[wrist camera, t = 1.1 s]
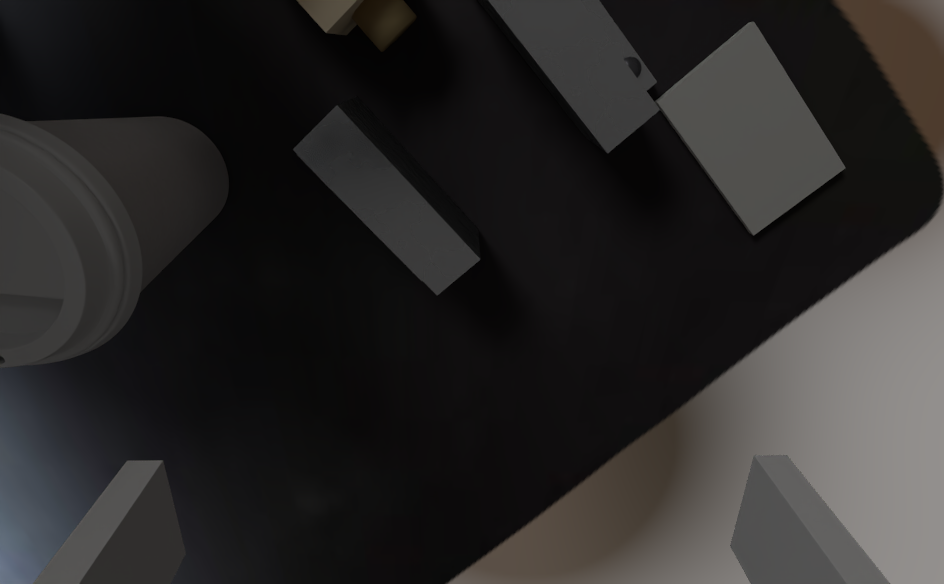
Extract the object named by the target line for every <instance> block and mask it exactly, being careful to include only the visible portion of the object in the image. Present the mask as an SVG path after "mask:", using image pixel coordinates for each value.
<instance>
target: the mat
mask: <svg viewBox="0 0 944 584" xmlns="http://www.w3.org/2000/svg"><path fill="white" fill-rule="evenodd" d="M655 104H656V105H657V106H658V108H659V109H660V110H661V112H662V113H663V115H664V116H665V117H666V119H667V120H668V122H669V123H670V124H671V126H672V127H673V128H674V130H675V131H676V133H677V134H678V135H679V137H680V138H681V139H682V141H683V142H684V144H685V145H686V146H687V148H688V149H689V151H690V152H691V153H692V155H693V156H694V157H695V159H696V160H697V162H698V163H699V164H700V166H701V167H702V168H703V170H704V171H705V173H706V174H707V175H708V177H709V178H710V180H711V181H712V182H713V184H714V185H715V186H716V188H717V189H718V191H719V192H720V193H721V195H722V196H723V197H724V199H725V200H726V202H727V203H728V204H729V206H730V207H731V209H732V210H733V211H734V213H735V214H736V215H737V217H738V218H739V220H740V221H741V222H742V224H743V225H744V226H745V228H746V229H747V231H748V232H749V233H750V234H752V235H753V236H754V235H755V234H756V233H758V232H759V231H761V230H762V229H763V228H765V227H766V226H767V225H769V224H770V223H771V222H773V221H774V220H775V219H777V218H778V217H780V216H781V215H782V214H784V213H785V212H786V211H788V210H789V209H790V208H792V207H793V206H795V205H796V204H797V203H799V202H800V201H801V200H803V199H804V198H805V197H807V196H808V195H809V194H811V193H812V192H814V191H815V190H816V189H818V188H819V187H820V186H822V185H823V184H824V183H826V182H827V181H829V180H830V179H831V178H833V177H834V176H835V175H837V174H838V173H839V172H841V171H842V170H844V169H845V166H844V165H843V163H842V161H841V160H840V158H839V157H838V155H837V153H836V152H835V150H834V149H833V147H832V145H831V144H830V142H829V141H828V139H827V137H826V136H825V134H824V133H823V131H822V129H821V128H820V126H819V125H818V123H817V121H816V120H815V118H814V117H813V115H812V114H811V112H810V110H809V109H808V107H807V106H806V104H805V102H804V101H803V99H802V98H801V96H800V94H799V93H798V91H797V90H796V88H795V86H794V85H793V83H792V82H791V80H790V78H789V77H788V75H787V74H786V72H785V70H784V69H783V67H782V66H781V64H780V62H779V61H778V59H777V58H776V56H775V55H774V53H773V51H772V50H771V48H770V47H769V45H768V43H767V42H766V40H765V39H764V37H763V35H762V34H761V32H760V31H759V29H758V27H757V26H756V24H755V23H754V22H749V23H748V24H746V25H745V26H744V27H743V28H742V29H740V30H739V31H738V32H737V33H736V34H734V35H733V36H732V37H731V38H730V39H729V40H727V41H726V42H725V43H724V44H723V45H721V46H720V47H719V48H718V49H717V50H715V51H714V52H713V53H712V54H711V55H710V56H708V57H707V58H706V59H705V60H704V61H702V62H701V63H700V64H699V65H698V66H696V67H695V68H694V69H693V70H692V71H690V72H689V73H688V74H687V75H686V76H685V77H683V78H682V79H681V80H680V81H679V82H677V83H676V84H675V85H674V86H673V87H671V88H670V89H669V90H668V91H667V92H665V93H664V94H663V95H662V96H661V97H660V98H658V99H657V100H656V101H655Z"/></svg>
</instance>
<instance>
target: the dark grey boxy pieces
mask: <svg viewBox="0 0 944 584" xmlns="http://www.w3.org/2000/svg"><path fill="white" fill-rule="evenodd" d="M478 2H479V3H480V4H481V5H482V7H483V8H484V9H485V10H486V12H487V13H488V14H489V16H490V17H491V18H492V19H493V21H494V22H495V23H496V24H497V26H498V27H499V28H500V30H501V31H502V32H503V33H504V35H505V36H506V37H507V38H508V40H509V41H510V42H511V44H512V45H513V46H514V47H515V49H516V50H517V51H518V52H519V54H520V55H521V56H522V58H523V59H524V60H525V61H526V63H527V64H528V65H529V66H530V68H531V69H532V70H533V72H534V73H535V74H536V75H537V77H538V78H539V79H540V80H541V82H542V83H543V84H544V85H545V87H546V88H547V89H548V91H549V92H550V93H551V94H552V96H553V97H554V98H555V99H556V101H557V102H558V103H559V105H560V106H561V107H562V108H563V110H564V111H565V112H566V113H567V115H568V116H569V117H570V119H571V120H572V121H573V122H574V124H575V125H576V126H577V127H578V129H579V130H580V131H581V133H582V134H583V135H584V136H585V138H587V139H588V140H590V141H591V142H592V143H594V144H595V145H597V146H598V147H599V148H601V149H602V150H603V151H605V152H606V153H609V152H610V151H611V150H612V149H614V148H615V147H616V146H617V145H618V144H620V143H621V142H622V141H623V140H624V139H626V138H627V137H628V136H629V135H630V134H632V133H633V132H634V131H635V130H636V129H638V128H639V127H640V126H641V125H642V124H644V123H645V122H646V121H647V120H648V119H650V118H651V117H652V116H653V115H654V114H656V113H657V112H658V111H659V110H660V109H659V108H658V106H657V105H656V104H655V102H654V101H653V99H652V98H651V97H650V95H649V94H648V92H647V90H648V89H649V88H651V87H652V86H653V85H654V84H655V83H656V82H657V81H656V80H655V78H654V77H653V76H652V74H651V73H650V71H649V70H648V69H647V67H646V66H645V64H644V63H643V62H642V60H641V59H640V57H639V56H638V55H637V53H636V52H635V50H634V49H633V47H632V46H631V45H630V43H629V42H628V40H627V39H626V38H625V36H624V35H623V33H622V32H621V31H620V29H619V28H618V26H617V25H616V24H615V22H614V21H613V19H612V18H611V17H610V15H609V14H608V12H607V11H606V10H605V8H604V7H603V5H602V4H601V3H600V1H599V0H478ZM293 150H294V151H295V152H296V153H297V156H298V157H299V158H300V159H301V160H302V161H303V162H304V163H305V164H306V165H307V166H308V167H309V168H310V169H311V170H312V171H313V172H314V173H315V174H316V175H317V176H318V177H319V178H320V179H321V180H322V181H323V182H324V183H325V184H326V185H327V186H328V187H329V188H330V189H331V190H332V191H333V192H334V193H335V194H336V195H337V196H338V197H339V198H340V199H341V200H342V201H343V202H344V203H345V204H346V205H347V206H348V207H349V208H350V209H351V210H352V211H353V212H354V213H355V214H356V215H357V216H358V217H359V218H360V219H361V221H362V222H363V223H364V224H365V225H366V226H367V227H368V228H369V229H370V230H371V231H372V232H373V233H374V234H375V235H376V236H377V237H378V238H379V239H380V240H381V241H382V242H383V243H384V244H385V245H386V246H387V247H388V248H389V249H390V250H391V251H392V252H393V253H394V254H395V255H396V256H397V257H398V258H399V259H400V260H401V261H402V262H403V263H404V264H405V265H406V266H407V267H408V268H409V269H410V270H411V271H412V272H413V273H414V274H415V275H416V276H417V277H418V278H419V279H420V280H421V281H423V282H424V283H425V284H426V285H427V286H428V287H429V288H430V289H431V290H432V291H433V292H434V293H435V294H436V295H438V294H440V293H441V292H442V291H443V290H444V289H446V288H447V287H448V286H449V285H450V284H452V283H453V282H454V281H455V280H456V279H458V278H459V277H460V276H461V275H462V274H464V273H465V272H466V271H467V270H468V269H470V268H471V267H472V266H473V265H474V264H476V263H477V262H478V261H479V260H480V259H481V258H480V246H479V233H478V228H477V227H476V226H475V225H474V224H473V222H472V221H471V220H470V219H469V218H468V217H467V216H466V215H465V214H464V213H463V212H462V210H461V209H460V208H459V207H458V206H457V205H456V204H455V203H454V202H453V201H452V199H451V198H450V197H449V196H448V195H447V194H446V193H445V192H444V191H443V190H442V189H441V187H440V186H439V185H438V184H437V183H436V182H435V181H434V180H433V179H432V178H431V176H430V175H429V174H428V173H427V172H426V171H425V170H424V169H423V168H422V167H421V166H420V164H419V163H418V162H417V161H416V160H415V159H414V158H413V157H412V156H411V155H410V153H409V152H408V151H407V150H406V149H405V148H404V147H403V146H402V145H401V144H400V143H399V141H398V140H397V139H396V138H395V137H394V136H393V135H392V134H391V133H390V132H389V130H388V129H387V128H386V127H385V126H384V125H383V124H382V123H381V122H380V121H379V120H378V118H377V117H376V116H375V115H374V114H373V113H372V112H371V111H370V110H369V109H368V107H367V106H366V105H365V104H364V103H363V102H362V101H361V100H360V99H359V98H358V97H354V98H352V99H350V100H348V101H345V102H343V103H341V104H338V105H337V106H336V107H335V108H334V109H333V110H332V111H331V112H330V113H329V114H328V115H327V116H326V117H325V118H324V119H323V120H322V121H321V122H320V123H319V124H318V125H317V126H316V127H315V128H314V129H313V130H312V131H311V132H310V133H309V134H308V135H307V136H306V137H305V138H304V139H303V140H302V141H301V142H300V143H299V144H298V145H297V146H296V147H295V148H294V149H293Z"/></svg>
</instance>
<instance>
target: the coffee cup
mask: <svg viewBox="0 0 944 584" xmlns="http://www.w3.org/2000/svg"><path fill="white" fill-rule="evenodd" d="M228 192H229V176H228V171H227V167H226V164H225V162H224V159H223V157H222V155H221V153H220V152H219V150H218V149H217V147H216V146H215V145H214V143H213V142H212V141H211V140H210V139H209V138H208V137H207V136H206V135H205V134H204V133H203V132H201V131H200V130H199V129H197V128H196V127H194V126H192V125H191V124H189V123H186V122H184V121H182V120H179V119H175V118H171V117H162V116H156V117H130V118H105V119H79V120H52V121H23V120H20V119H17V118H14V117H11V116H8V115H4V114H0V368H6V367H16V366H22V365H40V364H47V363H53V362H59V361H63V360H67V359H70V358H73V357H76V356H79V355H82V354H85V353H87V352H90V351H92V350H94V349H96V348H98V347H100V346H101V345H103V344H105V343H106V342H108V341H109V340H110V339H111V338H113V337H114V336H115V335H116V334H117V333H118V332H119V331H120V330H121V329H122V328H123V327H124V325H125V324H126V323H127V321H128V320H129V318H130V317H131V315H132V313H133V311H134V309H135V307H136V304H137V301H138V298H139V295H140V292H141V291H142V290H143V289H144V288H145V287H146V286H147V285H148V284H149V283H150V282H151V281H152V280H153V279H154V278H155V277H156V276H157V275H158V274H159V273H160V272H161V271H162V270H163V269H164V268H165V267H166V266H167V265H168V264H169V263H170V262H171V261H172V260H173V259H174V258H175V257H176V256H177V255H178V254H179V253H180V252H181V251H182V250H183V249H184V248H185V247H186V246H187V245H188V244H189V243H190V242H191V241H192V240H193V239H194V238H195V237H196V236H197V235H198V234H199V233H200V232H201V231H202V230H203V229H204V228H205V227H206V226H208V225H209V224H210V223H211V222H212V221H213V220H214V219H215V218H216V216H217V215H218V214H219V213H220V212H221V210H222V209H223V207H224V205H225V203H226V200H227V197H228Z"/></svg>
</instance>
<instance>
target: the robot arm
mask: <svg viewBox="0 0 944 584" xmlns="http://www.w3.org/2000/svg"><path fill="white" fill-rule="evenodd" d="M730 546H731V548H732V550H733V552H734V553H735V555H736V557H737V559H738V561H739V563H740V565H741V566H742V568H743V570H744V572H745V574H746V576H747V577H748V579H749V581H750V583H751V584H890V583H889V582H888V581H887V579H886V578H885V577H884V576H883V574H882V573H881V572H880V570H879V569H878V568H877V567H876V565H875V564H874V563H873V562H872V561H871V559H870V558H869V557H868V556H867V554H866V553H865V552H864V550H863V549H862V548H861V547H860V545H859V544H858V543H857V542H856V541H855V539H854V538H853V537H852V536H851V534H850V533H849V532H848V531H847V529H846V528H845V527H844V526H843V524H842V523H841V522H840V521H839V519H838V518H837V517H836V516H835V514H834V513H833V512H832V511H831V509H830V508H829V507H828V506H827V504H826V503H825V502H824V501H823V500H822V498H821V497H820V496H819V494H818V493H817V492H816V491H815V489H814V488H813V487H812V486H811V484H810V483H809V482H808V481H807V479H806V478H805V477H804V476H803V474H802V473H801V472H800V471H799V470H798V469H797V467H796V466H795V465H794V463H793V462H792V461H791V460H790V459H789V457H788V456H787V455H771V456H770V455H767V456H754V457H753V461H752V465H751V469H750V473H749V476H748V480H747V484H746V488H745V492H744V496H743V500H742V503H741V507H740V511H739V515H738V518H737V522H736V526H735V530H734V534H733V537H732V541H731V545H730ZM185 554H186V552H185V548H184V544H183V540H182V536H181V532H180V528H179V524H178V520H177V516H176V511H175V507H174V503H173V499H172V495H171V491H170V487H169V483H168V479H167V475H166V471H165V467H164V462H163V460H152V461H127V462H126V463H125V464H124V465H123V467H122V468H121V469H120V471H119V472H118V473H117V475H116V476H115V477H114V479H113V480H112V481H111V482H110V484H109V485H108V486H107V488H106V489H105V490H104V492H103V493H102V494H101V495H100V497H99V498H98V499H97V501H96V502H95V503H94V505H93V506H92V507H91V509H90V510H89V511H88V512H87V514H86V515H85V516H84V518H83V519H82V520H81V522H80V523H79V524H78V526H77V527H76V528H75V529H74V531H73V532H72V533H71V535H70V536H69V537H68V539H67V540H66V541H65V542H64V544H63V545H62V546H61V548H60V549H59V550H58V552H57V553H56V554H55V556H54V557H53V558H52V559H51V561H50V562H49V563H48V565H47V566H46V567H45V569H44V570H43V571H42V573H41V574H40V575H39V576H38V578H37V579H36V580H35V582H34V583H33V584H170V583H171V581H172V579H173V577H174V575H175V574H176V572H177V570H178V568H179V566H180V564H181V562H182V560H183V558H184V556H185Z"/></svg>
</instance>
